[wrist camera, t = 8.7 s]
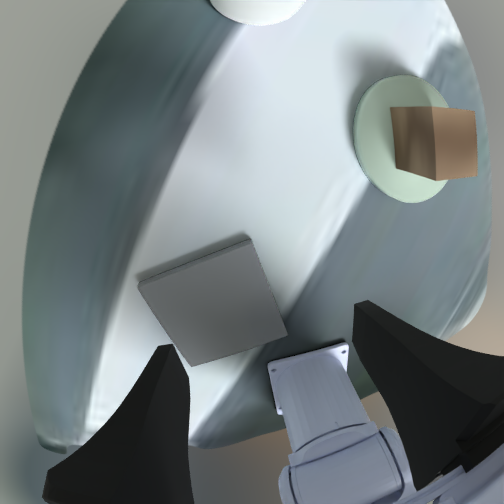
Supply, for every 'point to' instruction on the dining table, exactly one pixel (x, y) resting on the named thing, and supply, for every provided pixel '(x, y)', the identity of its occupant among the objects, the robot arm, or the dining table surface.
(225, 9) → the can
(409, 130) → the walnut block
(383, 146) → the sage dish
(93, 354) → the dining table surface
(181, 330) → the slate coaster
